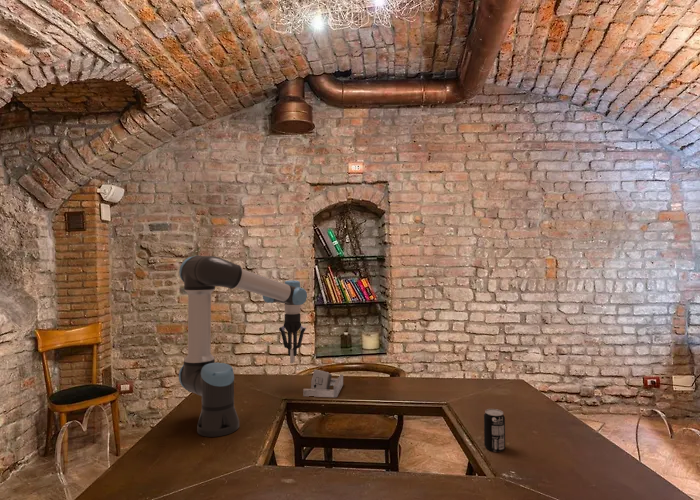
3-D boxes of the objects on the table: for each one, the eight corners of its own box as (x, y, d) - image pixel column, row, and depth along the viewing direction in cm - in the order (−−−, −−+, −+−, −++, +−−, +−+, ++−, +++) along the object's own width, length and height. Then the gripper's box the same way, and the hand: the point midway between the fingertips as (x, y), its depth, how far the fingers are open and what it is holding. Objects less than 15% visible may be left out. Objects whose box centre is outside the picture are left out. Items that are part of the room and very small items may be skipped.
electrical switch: (310, 389, 207) (311, 369, 208) (317, 388, 211) (318, 368, 212) (324, 393, 201) (326, 373, 202) (332, 391, 205) (333, 371, 206)
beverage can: (488, 441, 149) (488, 406, 149) (508, 447, 145) (507, 411, 145) (481, 448, 144) (480, 412, 144) (500, 454, 140) (500, 417, 140)
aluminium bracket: (336, 397, 196) (336, 386, 196) (303, 396, 198) (303, 385, 198) (343, 384, 213) (343, 374, 213) (312, 383, 216) (312, 373, 216)
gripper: (307, 312, 210) (307, 361, 210) (281, 311, 212) (281, 360, 212) (303, 314, 203) (303, 365, 203) (276, 313, 205) (276, 364, 204)
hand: (292, 362), depth 207 cm, fingers closed
